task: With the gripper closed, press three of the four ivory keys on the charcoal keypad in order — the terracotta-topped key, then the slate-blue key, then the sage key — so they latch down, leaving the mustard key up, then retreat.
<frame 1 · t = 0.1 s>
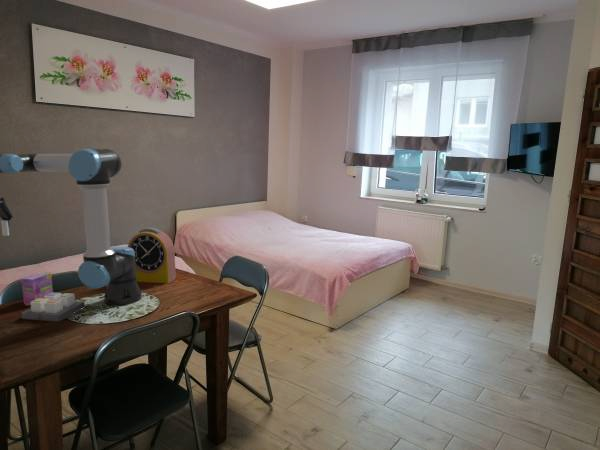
sage key: (66, 299, 174), point 4 cm above the table, slide at 0.0 cm
alarm clock: (152, 279, 216), on the table
slate key: (53, 298, 175), point 4 cm above the table, slide at 0.0 cm
keypad board: (54, 312, 172), on the table
box: (39, 302, 185), on the table
terracotta key: (53, 305, 167), point 4 cm above the table, slide at 0.0 cm
mustard key: (40, 305, 168), point 4 cm above the table, slide at 0.0 cm
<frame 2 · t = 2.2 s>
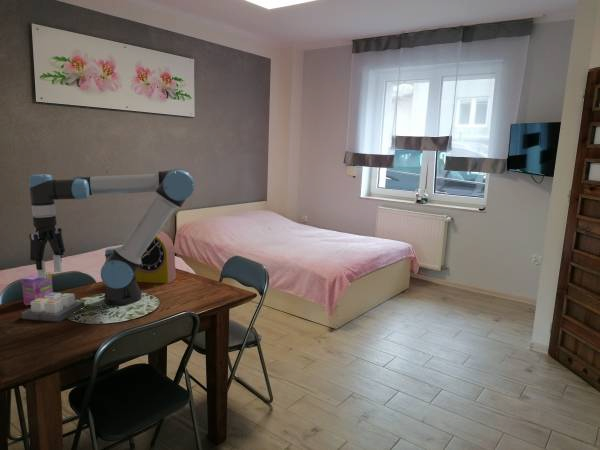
hand: (50, 274, 165), 17 cm above the table, fingers open, 8 cm apart
nothing on the table moved.
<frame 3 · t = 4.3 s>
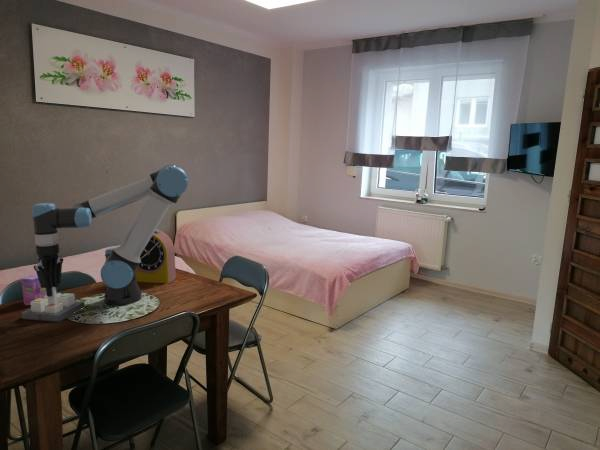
hand: (52, 303, 167), 6 cm above the table, fingers closed
terracotta key: (54, 309, 168), point 3 cm above the table, slide at 1.4 cm, touching gripper
everything else where it was.
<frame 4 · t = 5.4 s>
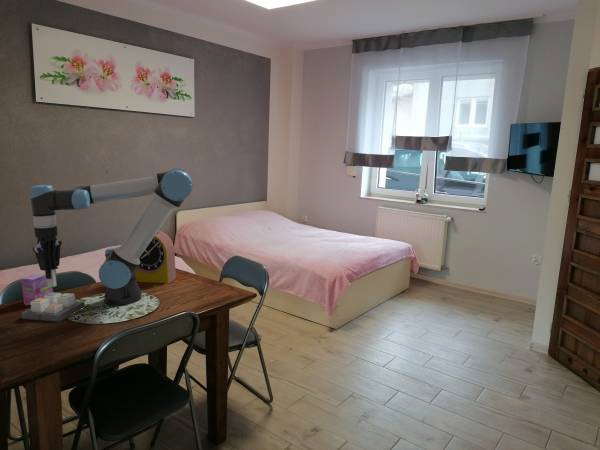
hand: (52, 285, 167), 12 cm above the table, fingers closed
terracotta key: (54, 310, 168), point 3 cm above the table, slide at 1.8 cm
everything else where it was.
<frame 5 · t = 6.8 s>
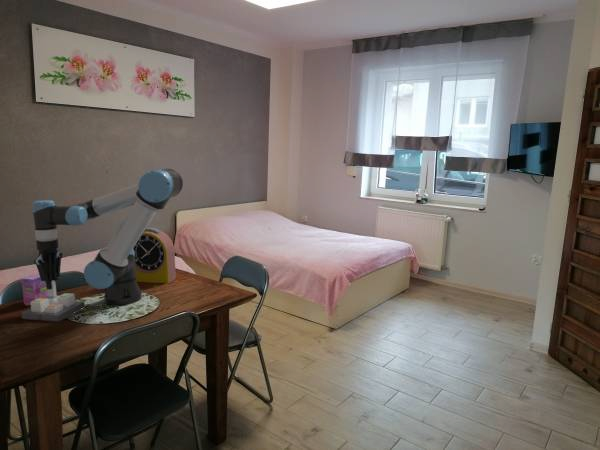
hand: (52, 295, 175), 6 cm above the table, fingers closed
slate key: (53, 301, 175), point 3 cm above the table, slide at 1.2 cm, touching gripper
everything else where it was.
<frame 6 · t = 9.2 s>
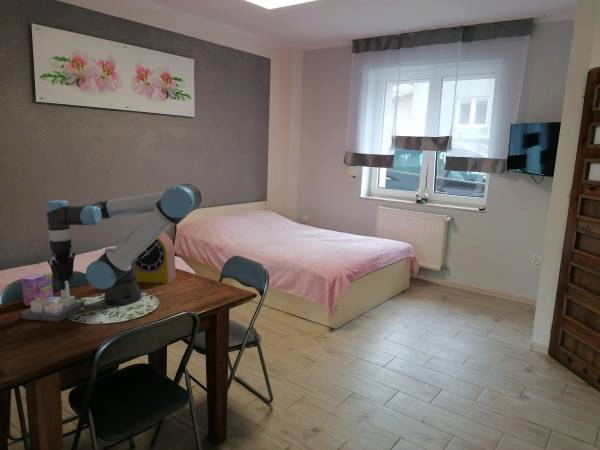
hand: (65, 296, 174), 6 cm above the table, fingers closed
sage key: (66, 302, 174), point 3 cm above the table, slide at 1.0 cm, touching gripper
slate key: (53, 303, 175), point 3 cm above the table, slide at 1.8 cm
everything else where it was.
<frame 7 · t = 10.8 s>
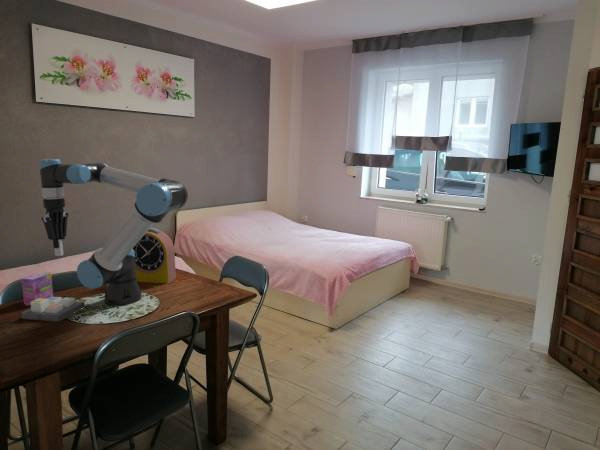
hand: (59, 255, 176), 22 cm above the table, fingers closed
sage key: (66, 304, 174), point 3 cm above the table, slide at 1.8 cm
everything else where it was.
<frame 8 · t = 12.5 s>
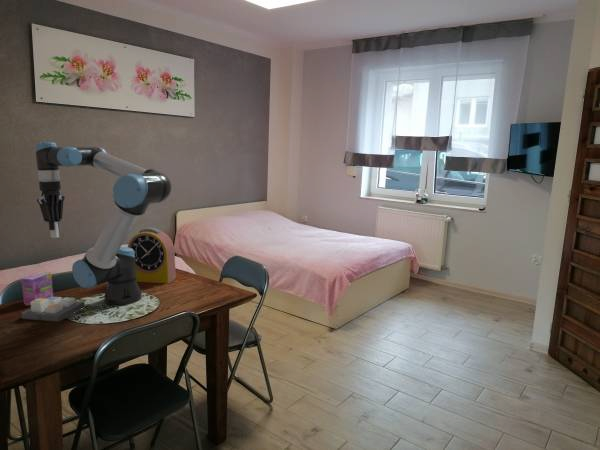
hand: (55, 237, 179), 28 cm above the table, fingers closed
nothing on the table moved.
at the end: terracotta key slide at 1.8 cm; slate key slide at 1.8 cm; sage key slide at 1.8 cm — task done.
